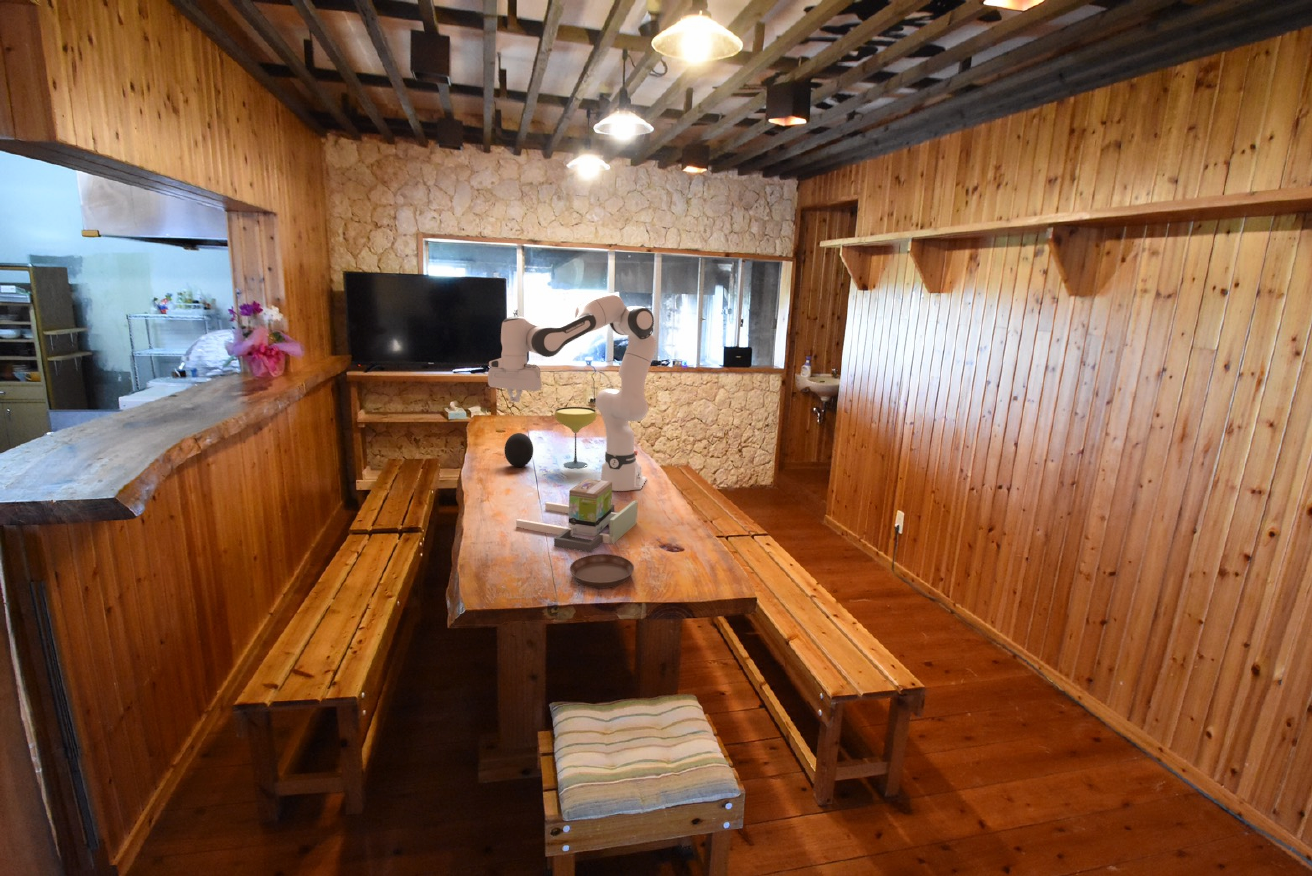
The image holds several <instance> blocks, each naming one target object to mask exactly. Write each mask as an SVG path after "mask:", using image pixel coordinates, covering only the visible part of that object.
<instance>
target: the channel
mask: <svg viewBox="0 0 1312 876" xmlns="http://www.w3.org/2000/svg"><path fill="white" fill-rule="evenodd" d="M544 505H545V510H547V511H551V512H552V511H553V512H558V513H564V512H565V514H569V504H564V503H563V504H562V503H557V502H549V501H546V502H545V504H544ZM637 521H638V500H632V501H631V502H630V503H629V504H628V505H627V506H625V507H624V508H622V509H621V510H619V512H611V519H610V523H609V533H608V534H607V533H602V532H599V533H598V535H603V543H602V544H609V545H614V544H615V543H616V542H617V541H618V540H619V539H621V538H622V537H623V536H624V535H625V534H626V533H627V532H629V530H631V529H632V528H633V527H635V526H636V524H638V523H637ZM515 523H516V524H515V526H516V528H517V527H521V528H520V529H523V528H524V530H530V531H536V532H540V533H541V532H542V533H547V534H551V533H552V535H557V536H558V535H560V534H561V533H562V532H564V531H565V530H567V529H570V530H571V536H573V533H572V528H568V526H560V525H556V524H549V523H543V522H539V521H538V522H537V521H531V520H526V519H522V518H521V519H520V518H518V519H516V521H515Z"/></svg>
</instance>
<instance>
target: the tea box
mask: <svg viewBox="0 0 1312 876" xmlns="http://www.w3.org/2000/svg"><path fill="white" fill-rule="evenodd" d="M568 494H569V495H568V496H569V497H568V505H569V513H568V526H567V527H568V528H572V534H574V533H575V535H580V534H581V536H587V537H597V536H598V535H599V534H600V533H601V531H603V530H604V528H606V527H607V525H610V519H611V506H612V505H613V503H612V501H613V490H612V482H609V481H601V479H600V480H599V479H593V478H591V479H590V478H585V479H584V480H582V481H581V482H580V483H578V484H576V485H575V486H573V487H572V488H571V489H569V493H568Z"/></svg>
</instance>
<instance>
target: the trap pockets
mask: <svg viewBox="0 0 1312 876" xmlns="http://www.w3.org/2000/svg"><path fill="white" fill-rule="evenodd" d="M615 508H616V507H615V504H612V506H611V512H613V513H616V512H615ZM553 544H554V545H553V546H554V547H558V548H563V549H568V548H569V550H574V549H575V550H574V551H579V550H580V552H585V553H592V552H594V550H596V549H597V548H598V547H599V546H600V545H601V544H604V543H603V535H599V534H597V535H596V536H594V538H593V539H589V538H584V537H579V536H578V537H577V536H573V535H572V536H571V530H570V529H567V530H565V531H564V532H562V533H561V534H560V535H557V536H556V537H554V538H553ZM595 548H596V549H595Z"/></svg>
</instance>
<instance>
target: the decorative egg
mask: <svg viewBox="0 0 1312 876" xmlns="http://www.w3.org/2000/svg"><path fill="white" fill-rule="evenodd" d="M533 455H534V445H533V442H532V440H531V438H530V437H529V436H528V435H526V434H524V433H521V432H518V433H517V432H516V433H514V434H511V435H510V436H509V437H508V438H507V440H506V441H505V445H504V456H505V458H506V461H507V462H508V463H509V464H510V465H511V466H513V467H516V468H522V467H525V466H527V465H528V464H529V463H530V462H531V460H532V459H533Z"/></svg>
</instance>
